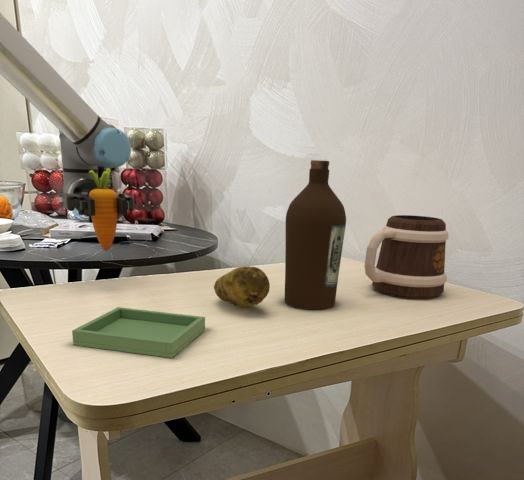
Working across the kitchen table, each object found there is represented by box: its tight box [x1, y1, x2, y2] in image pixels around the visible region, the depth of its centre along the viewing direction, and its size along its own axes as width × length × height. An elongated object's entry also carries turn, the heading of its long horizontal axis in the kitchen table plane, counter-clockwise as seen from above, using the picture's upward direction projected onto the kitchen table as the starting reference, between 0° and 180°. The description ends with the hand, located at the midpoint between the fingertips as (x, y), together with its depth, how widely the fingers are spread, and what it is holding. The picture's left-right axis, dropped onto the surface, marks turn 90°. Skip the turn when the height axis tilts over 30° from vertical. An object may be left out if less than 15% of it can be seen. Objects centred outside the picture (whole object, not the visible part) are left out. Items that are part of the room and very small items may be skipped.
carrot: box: [89, 168, 118, 252], centre depth 96 cm, size 5×5×15 cm
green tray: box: [71, 306, 206, 359], centre depth 75 cm, size 15×13×2 cm
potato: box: [213, 265, 271, 308], centre depth 90 cm, size 8×13×8 cm, turn 14°
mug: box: [364, 214, 449, 300], centre depth 105 cm, size 20×15×15 cm
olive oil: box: [284, 159, 347, 311], centre depth 92 cm, size 11×11×25 cm
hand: (109, 207), depth 92 cm, fingers closed on carrot, 5 cm apart
